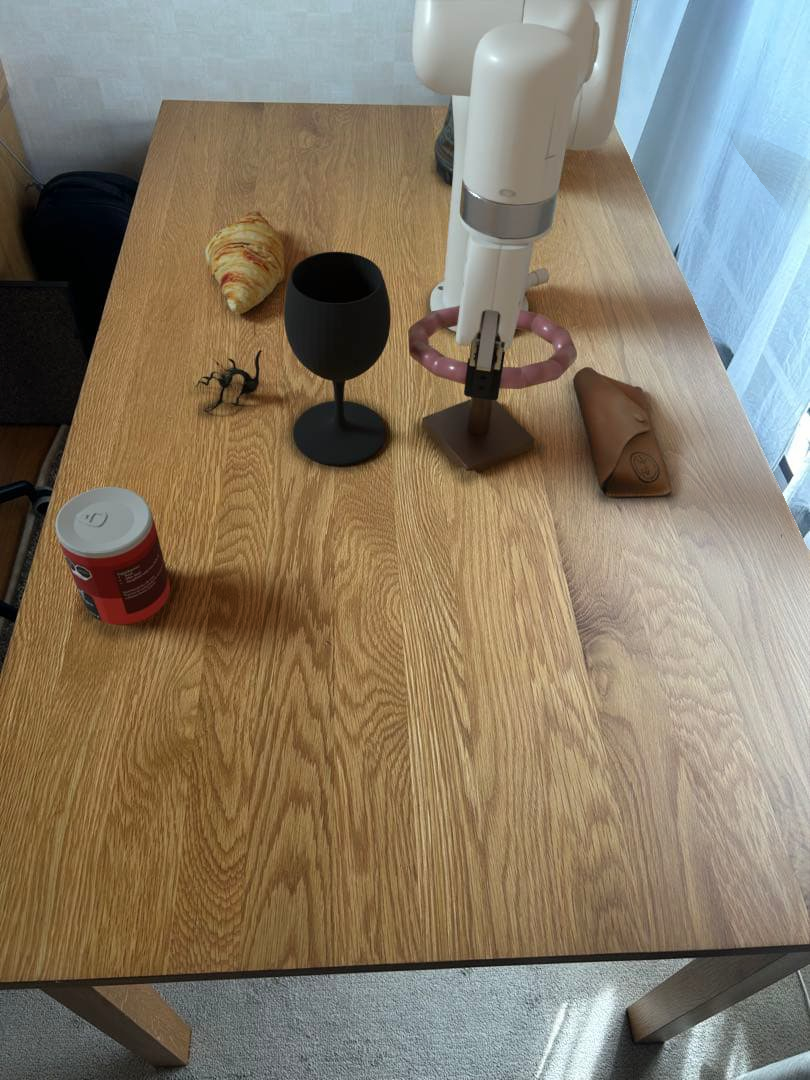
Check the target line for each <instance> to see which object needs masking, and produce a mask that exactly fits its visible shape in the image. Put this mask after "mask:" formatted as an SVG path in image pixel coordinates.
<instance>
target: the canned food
mask: <svg viewBox="0 0 810 1080" xmlns="http://www.w3.org/2000/svg"><path fill="white" fill-rule="evenodd" d="M54 525H55V526H54V527H55V532H56V537H57V539H58V542H59V545H60V548H61V551H62V553H63V556H64V559H65V561H66V563H67V566H68V568H69V571H70V573H71V576H72V578H73V581H74V583H75V586H76V588H77V591H78V593H79V596H80V598H81V601H82V603H83V606H84V608H85V610H86V611H87V612H88V614H89V615H90V616H91V617H92V618H94V620H98V621H100V622H102V623H106V624H110V625H117V626H119V625H121V626H122V625H130V624H135V623H139V622H141V621H144V620H146V619H148V618H150V617H152V616H154V615H155V614H156V613H158V611H160V609H161V608H162V607H164V605H165V604H166V602H167V600H168V599H169V595H170V591H171V583H170V579H169V575H168V571H167V567H166V562H165V559H164V554H163V551H162V547H161V543H160V537H159V534H158V530H157V527H156V526H157V525H156V523H155V519H154V516H153V512H152V509H151V508H150V505H149V503H148V502H147V501H146V499H144V497H143V496H141V495H140V494H139V493H137V492H134V491H132V490H130V489H127V488H123V487H115V486H104V487H103V486H102V487H97V488H92V489H89V490H86V491H83V492H80V493H79V494H77V495H75V496H73V497H72V498H70V499H69V500H68V501H67V502H66V503H65V504H64V505H63V506H62V507H61V508H60V509H59V511H58V513H57V515H56V518H55V523H54Z"/></svg>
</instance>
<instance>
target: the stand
mask: <svg viewBox="0 0 810 1080" xmlns="http://www.w3.org/2000/svg"><path fill="white" fill-rule="evenodd" d="M421 428H422V430H423V431H424V432H425V433H426V435H428V436H429V437H430V439H431V440H432V441H433V442H434V443H435V444H436V445H437V447H439V449H440V450H441V451H442V452H443V453H444V454H445V455H446V456H447V458H448V459H449V460H450V461H451V463H453V464H454V465H455V467H456V468H457V469H461V468H463V469H464V470H465V471H466V472H469V471H472V470H473V471H474V472H476V473H479V472H482V471H484V470H487V469H490V468H491V467H494V466H497V465H499V464H501V463H503V462H505V461H508V460H511V459H512V458H515V457H517V456H520V455H522V454H524V453H527V452H530V451H532V450H534V447H535V442H536V439H535V437H533V436H532V434H530V432H528V431H527V430H526V429H525V428H524V427H523V425H522V424H521V423H520V422H518V421H517V419H516V418H515V417H513V415H512V414H511V413H509V411H508V410H506V408H504V406H503V405H501V404H500V402H498V400H488V399H481V398H474V397H470V399H468V400H465V401H462V402H459V403H456V404H454V405H452V406H449V407H446V408H444V409H441V410H439V411H436V412H434V413H431V414H429V415H426V416H423V417H422V419H421Z"/></svg>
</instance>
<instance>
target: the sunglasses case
mask: <svg viewBox="0 0 810 1080" xmlns="http://www.w3.org/2000/svg"><path fill="white" fill-rule="evenodd" d="M572 382H573V388H574V392H575V396H576V400H577V403H578V407H579V411H580V415H581V419H582V422H583V426H584V430H585V434H586V436H587V442H588V446H589V450H590V454H591V457H592V461H593V467H594V472H595V476H596V479H597V484H598V487H599V488H600V491H601V492H602V493H603V495H604V496H606V497H607V498H619V499H621V498H625V499H626V498H627V499H635V498H652V497H653V498H654V497H655V498H656V497H664V496H668V495H670V494H672V492H673V489H672V484H671V479H670V476H669V473H668V470H667V467H666V464H665V461H664V458H663V455H662V451H661V448H660V445H659V443H658V439H657V437H656V433H655V429H654V426H653V422H652V420H651V417H650V412H649V409H648V406H647V401H646V397H645V393H644V390H643V389H642V388H643V387H641V386H633V385H631V384H628V383H625V382H623V381H620V380H617V379H615V378H612V377H609V376H607V375H604V374H601V373H599V372H597V371H596V370H595V369H594V368H592V367H590V366H585V367H582V368H580V369H579V370H578V371H577V372H576V373H575V374H574V376H573V379H572Z"/></svg>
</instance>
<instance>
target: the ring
mask: <svg viewBox="0 0 810 1080" xmlns="http://www.w3.org/2000/svg"><path fill="white" fill-rule="evenodd" d="M459 308H460V306H455V307H450V308H445V309H440V310H435V311H432V312H431V311H430V312H429V313H427V314H426V315H424V316H423V317H422V318H420V319H419V320H417V321H416V322H415V323H413V324H412V325H411V326H410V327H409V329H408V330H407V331H408V332H407V336H408V337H407V340H408V354H409V355H410V357H411V358H412V359H413V360H414V361H415V362H417V363H418V364H419V365H420V366H422V367H423V368H425V369H426V370H427V371H428V372H430V373H431V374H432V375H434V376H435V377H437V378H441V379H444V380H448V381H451V382H455V383H457V384H462V385H465V380H466V371H467V363H468V362H467V361H462V360H458V359H455V358H452V357H449V356H445V355H444V354H443V353H441V352H440V351H438V350H437V349H436V348H434V347H433V346H432V345H430V341H429V339H430V338H431V337H432V336H433V335H435V334H436V333H437V332H438V331H440V330H445V329H448V328H449V327H454V326H457V325H458V316H459ZM515 330H520V331H524V332H528V333H532V334H534V335H536V336H537V337H539V338H540V339H542V340H544V341H545V342H547V343H549V344H550V345H551V346H552V348H553V351H554V353H553V354H552V355H551V356H550V357H549V358H548V359H546V360H542V361H539V362H535V363H531V364H527V365H523V366H516V367H515V366H503V369H502V376H501V382H500V389H499V390H502V389H503V390H504V389H505V390H521V389H527V388H531V387H534V386H538V385H542V384H546V383H549V382H553V381H556V380H559V378H561V377H562V376H563V374H564V373H565V372H566V371H567V370H569V368H570V367H571V366H573V364H574V363H575V362H576V360H577V358H578V351H577V348H576V345H575V344H574V341H573V339H572V336H571V334H570V331H569V330H567V329H566V328H565V327H563V326H562V325H560V324H558V323H556V322H554V321H553V320H551V319H550V318H548V317H546V316H544V315H543V314H541V313H536V312H534V311H529V310H528V311H525V310H521V309H520V314H519V318H518V322H517V325H516V329H515Z"/></svg>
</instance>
